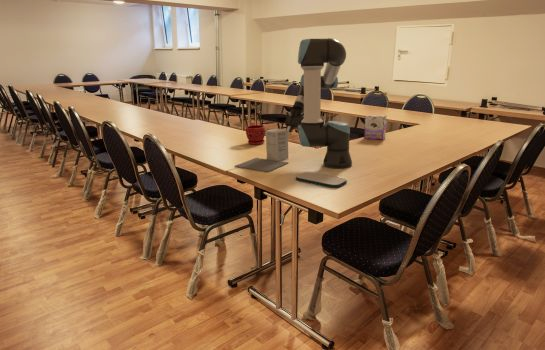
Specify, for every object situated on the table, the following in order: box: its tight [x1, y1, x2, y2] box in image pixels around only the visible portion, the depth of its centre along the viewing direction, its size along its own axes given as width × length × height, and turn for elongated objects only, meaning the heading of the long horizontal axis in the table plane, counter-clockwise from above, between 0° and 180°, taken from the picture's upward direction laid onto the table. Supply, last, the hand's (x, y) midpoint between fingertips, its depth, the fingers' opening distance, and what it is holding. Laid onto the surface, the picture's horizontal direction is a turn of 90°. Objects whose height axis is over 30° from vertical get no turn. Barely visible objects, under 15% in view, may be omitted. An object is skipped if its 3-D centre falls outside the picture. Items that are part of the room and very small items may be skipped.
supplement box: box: [265, 128, 289, 161], centre depth 220 cm, size 10×9×17 cm
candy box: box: [363, 114, 387, 141], centre depth 267 cm, size 14×6×16 cm, turn 58°
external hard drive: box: [295, 171, 348, 189], centre depth 179 cm, size 24×12×2 cm, turn 51°
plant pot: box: [245, 124, 266, 146], centre depth 262 cm, size 13×13×12 cm
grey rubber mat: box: [234, 157, 289, 173], centre depth 209 cm, size 22×20×1 cm
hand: (286, 136), depth 227 cm, fingers closed
